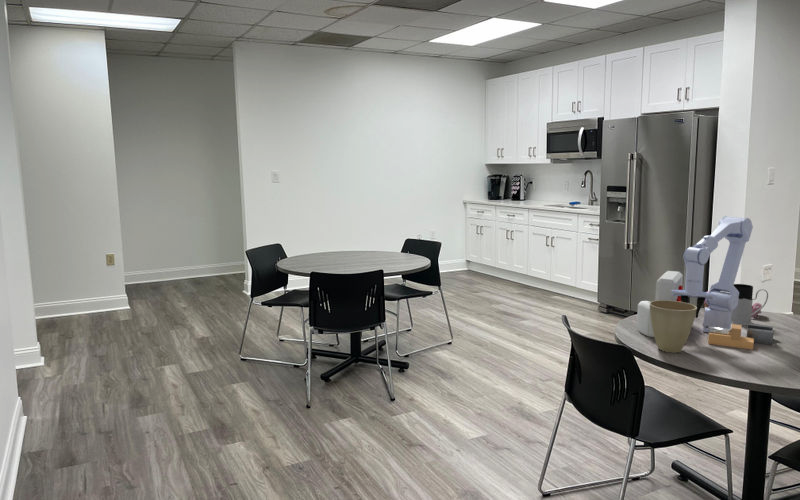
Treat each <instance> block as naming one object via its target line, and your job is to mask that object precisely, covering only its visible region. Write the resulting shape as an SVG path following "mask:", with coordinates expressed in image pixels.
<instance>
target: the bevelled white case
mask: <svg viewBox="0 0 800 500" xmlns="http://www.w3.org/2000/svg"><path fill="white" fill-rule="evenodd" d="M683 276H684V274H683V273H681V271H676V270H675V271H674V270H667V271H665V273H663V274H662V275H661V276H660V277H659V278H658V279H657V280H656V283H655V295H654V297H655V299H654V301H656V300H670V301H679V302H682V301H681V296H671V290H683V287H684V286H683Z"/></svg>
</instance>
